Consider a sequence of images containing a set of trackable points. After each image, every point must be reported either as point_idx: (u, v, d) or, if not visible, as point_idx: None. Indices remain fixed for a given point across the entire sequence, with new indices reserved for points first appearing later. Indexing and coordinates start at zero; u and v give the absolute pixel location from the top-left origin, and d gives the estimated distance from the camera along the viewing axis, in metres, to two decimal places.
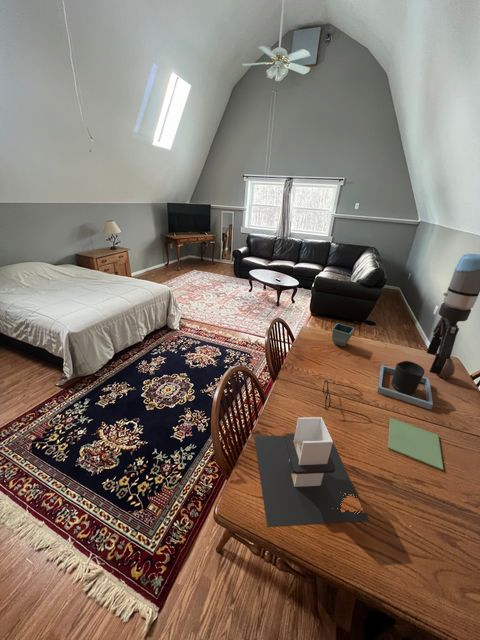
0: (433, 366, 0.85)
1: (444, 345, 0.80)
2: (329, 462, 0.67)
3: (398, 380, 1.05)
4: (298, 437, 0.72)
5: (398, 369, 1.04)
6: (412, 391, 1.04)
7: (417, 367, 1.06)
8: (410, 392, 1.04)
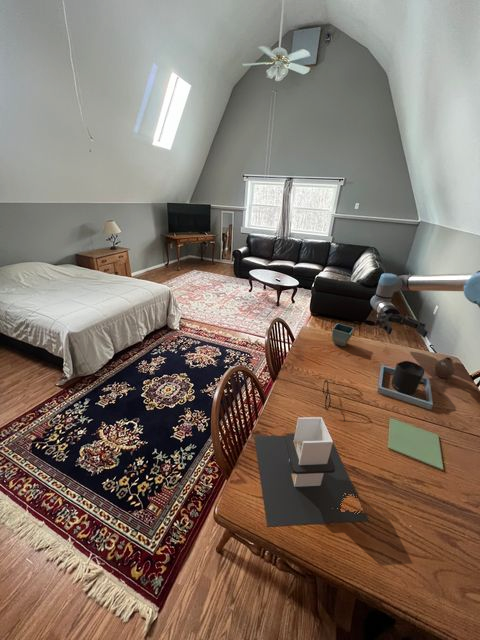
0: (386, 330, 1.12)
1: None
2: (329, 462, 0.67)
3: (398, 380, 1.05)
4: (298, 437, 0.72)
5: (398, 369, 1.04)
6: (412, 391, 1.04)
7: (417, 367, 1.06)
8: (410, 392, 1.04)
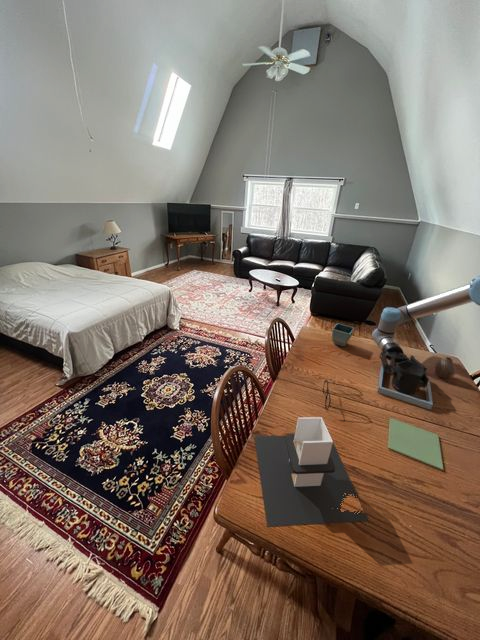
0: (396, 377, 1.04)
1: (382, 363, 1.12)
2: (329, 462, 0.67)
3: None
4: (298, 437, 0.72)
5: (398, 369, 1.04)
6: (412, 391, 1.04)
7: (417, 367, 1.06)
8: (410, 392, 1.04)
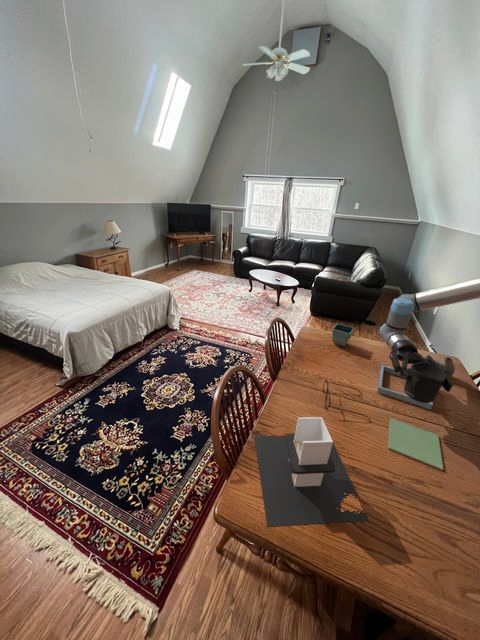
0: (411, 382, 0.84)
1: (393, 365, 0.92)
2: (329, 462, 0.67)
3: None
4: (298, 437, 0.72)
5: (413, 372, 0.84)
6: (431, 399, 0.84)
7: (437, 370, 0.86)
8: (428, 400, 0.84)
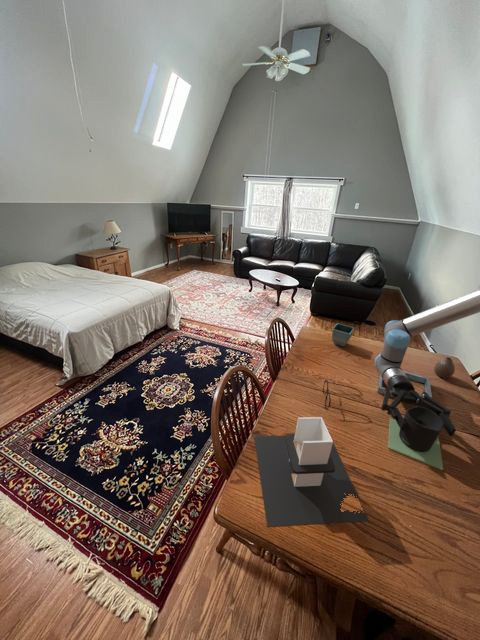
0: (397, 423, 0.81)
1: None
2: (329, 462, 0.67)
3: (409, 434, 0.80)
4: (298, 437, 0.72)
5: (408, 419, 0.80)
6: (427, 448, 0.79)
7: (433, 416, 0.81)
8: (424, 450, 0.79)
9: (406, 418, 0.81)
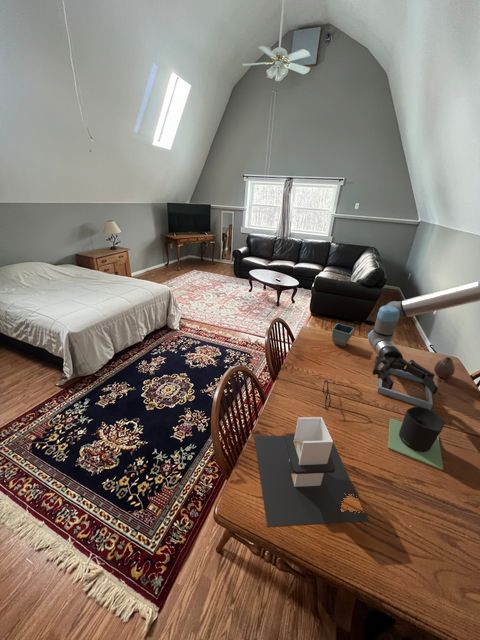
0: (386, 384, 0.90)
1: None
2: (329, 462, 0.67)
3: (409, 434, 0.80)
4: (298, 437, 0.72)
5: (408, 419, 0.80)
6: (427, 448, 0.79)
7: (433, 416, 0.81)
8: (424, 450, 0.79)
9: (406, 418, 0.81)
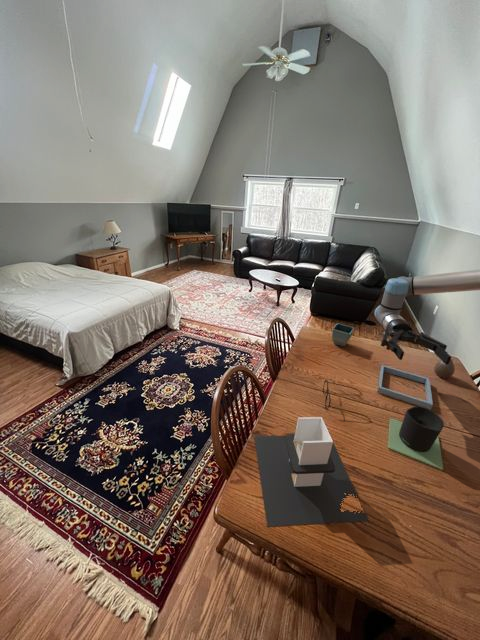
0: (396, 354, 0.85)
1: None
2: (329, 462, 0.67)
3: (409, 434, 0.80)
4: (298, 437, 0.72)
5: (408, 419, 0.80)
6: (427, 448, 0.79)
7: (433, 416, 0.81)
8: (424, 450, 0.79)
9: (406, 418, 0.81)
